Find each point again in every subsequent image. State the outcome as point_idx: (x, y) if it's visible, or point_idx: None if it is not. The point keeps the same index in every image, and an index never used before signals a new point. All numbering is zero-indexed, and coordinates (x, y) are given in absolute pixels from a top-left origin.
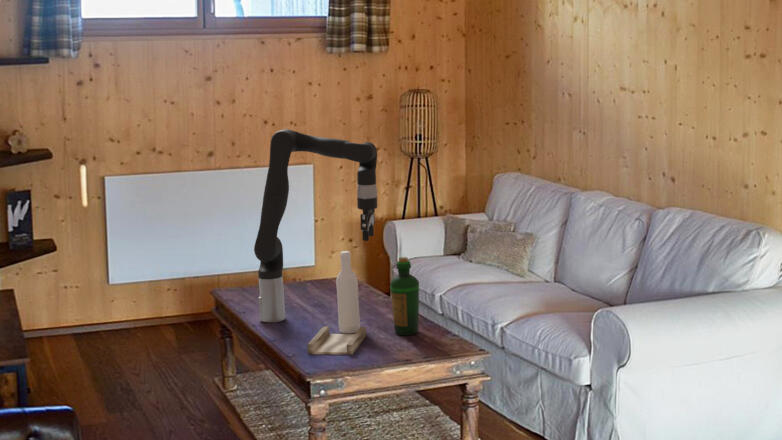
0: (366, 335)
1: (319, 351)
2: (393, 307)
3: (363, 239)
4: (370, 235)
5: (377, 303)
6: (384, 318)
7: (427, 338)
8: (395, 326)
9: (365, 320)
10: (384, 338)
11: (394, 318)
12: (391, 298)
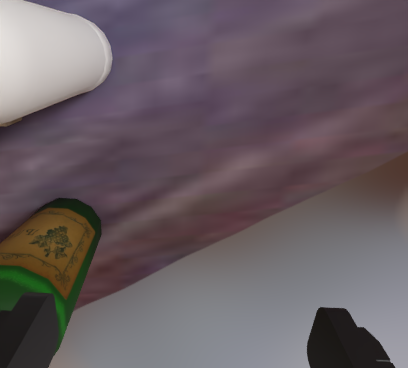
0: (20, 120)
1: None
2: (11, 238)
3: (21, 304)
4: (315, 333)
5: (401, 107)
6: (217, 150)
7: None
8: (42, 209)
9: (198, 92)
10: (10, 173)
11: (32, 219)
12: (3, 249)
